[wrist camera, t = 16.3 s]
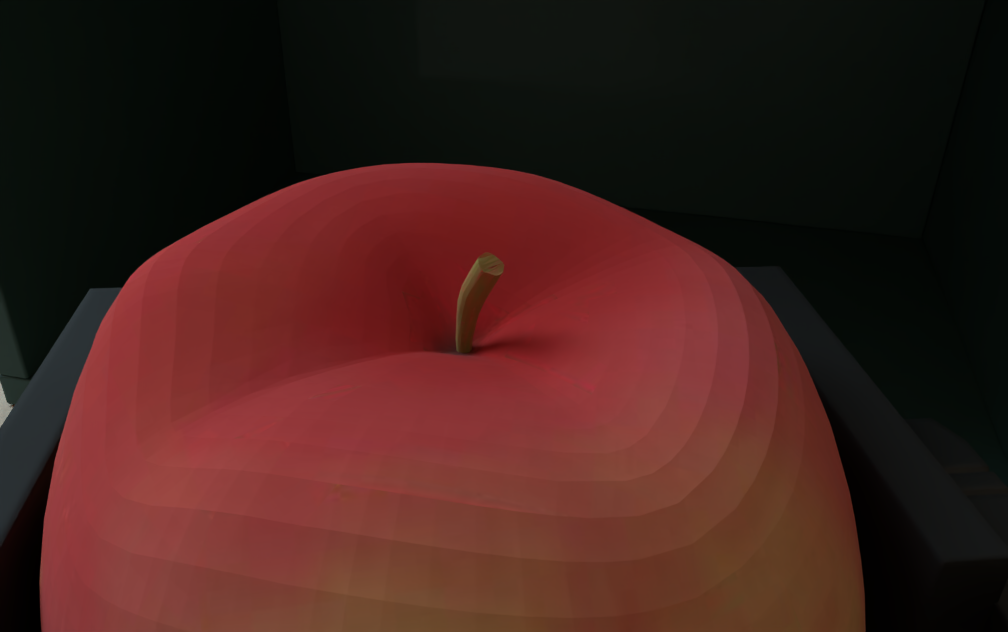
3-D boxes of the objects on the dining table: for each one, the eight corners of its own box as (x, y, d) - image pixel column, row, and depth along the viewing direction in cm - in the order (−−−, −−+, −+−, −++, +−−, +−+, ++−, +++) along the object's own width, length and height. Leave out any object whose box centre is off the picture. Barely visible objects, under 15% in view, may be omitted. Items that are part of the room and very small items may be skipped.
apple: (12, 873, 13) (-270, 267, 8) (445, 525, 20) (435, 69, 15) (528, 1581, 8) (616, 1106, 3) (887, 792, 14) (1102, 226, 9)
